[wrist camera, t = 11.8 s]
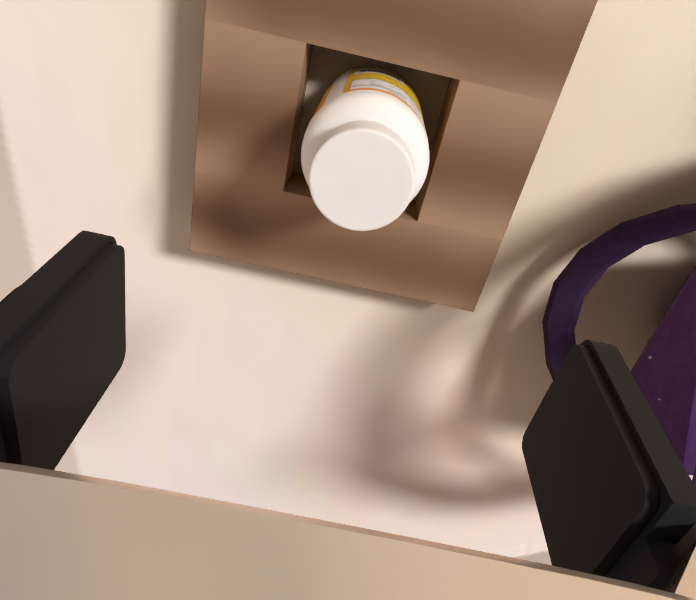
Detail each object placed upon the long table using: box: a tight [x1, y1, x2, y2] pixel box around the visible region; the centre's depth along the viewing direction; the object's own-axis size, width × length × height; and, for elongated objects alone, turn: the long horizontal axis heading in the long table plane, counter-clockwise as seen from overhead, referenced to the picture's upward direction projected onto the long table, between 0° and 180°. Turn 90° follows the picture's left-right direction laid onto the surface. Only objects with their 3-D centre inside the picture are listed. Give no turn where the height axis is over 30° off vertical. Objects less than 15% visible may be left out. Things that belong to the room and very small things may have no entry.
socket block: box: [190, 0, 598, 312], centre depth 28 cm, size 16×16×3 cm
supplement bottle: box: [301, 66, 430, 231], centre depth 25 cm, size 5×5×10 cm
